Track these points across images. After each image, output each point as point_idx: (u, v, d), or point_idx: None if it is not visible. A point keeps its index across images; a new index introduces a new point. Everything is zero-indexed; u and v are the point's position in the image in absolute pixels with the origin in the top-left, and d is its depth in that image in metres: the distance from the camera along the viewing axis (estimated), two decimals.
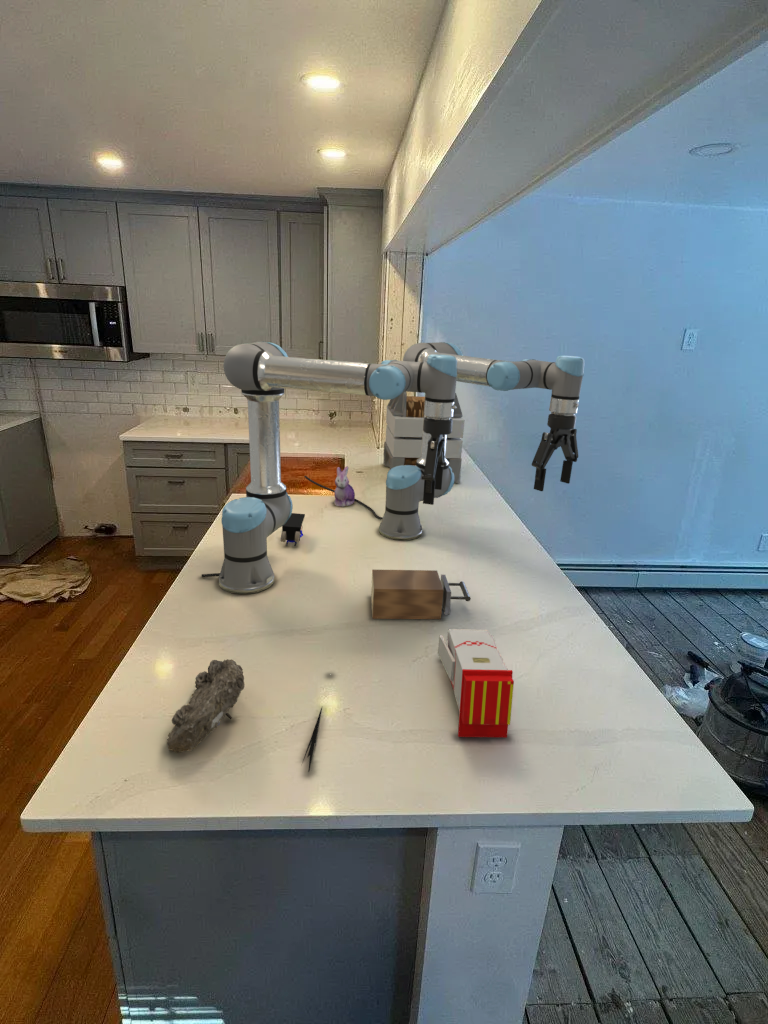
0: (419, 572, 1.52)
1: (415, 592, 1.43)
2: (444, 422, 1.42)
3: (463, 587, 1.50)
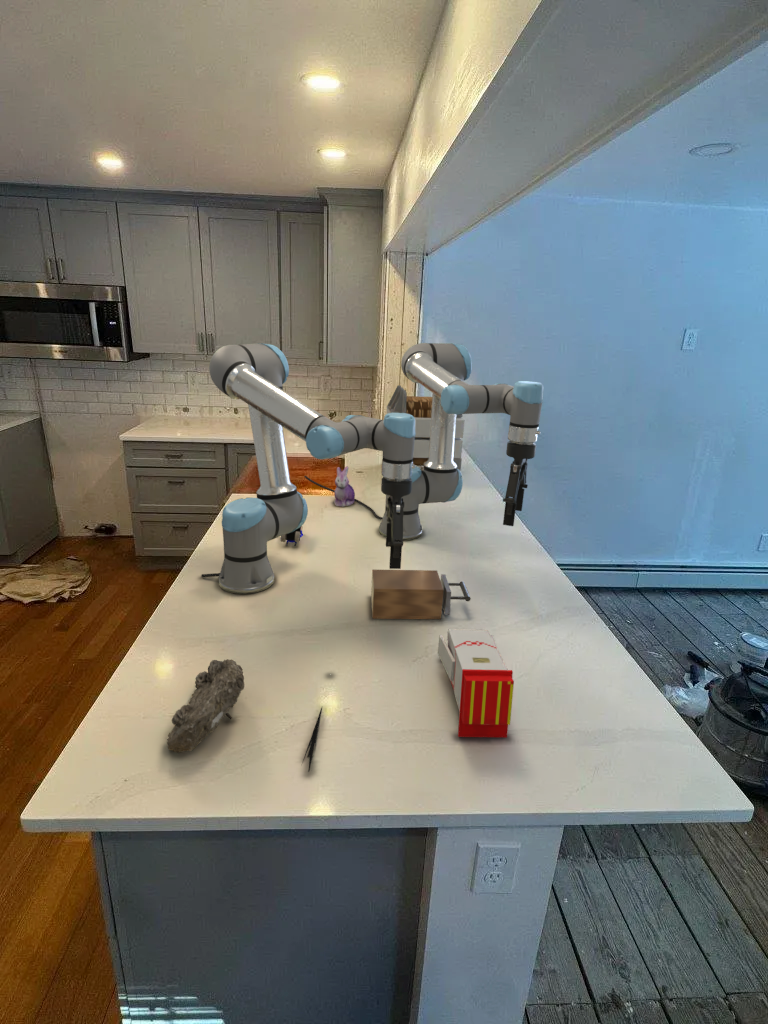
0: (419, 572, 1.52)
1: (415, 592, 1.43)
2: (406, 483, 1.36)
3: (463, 587, 1.50)
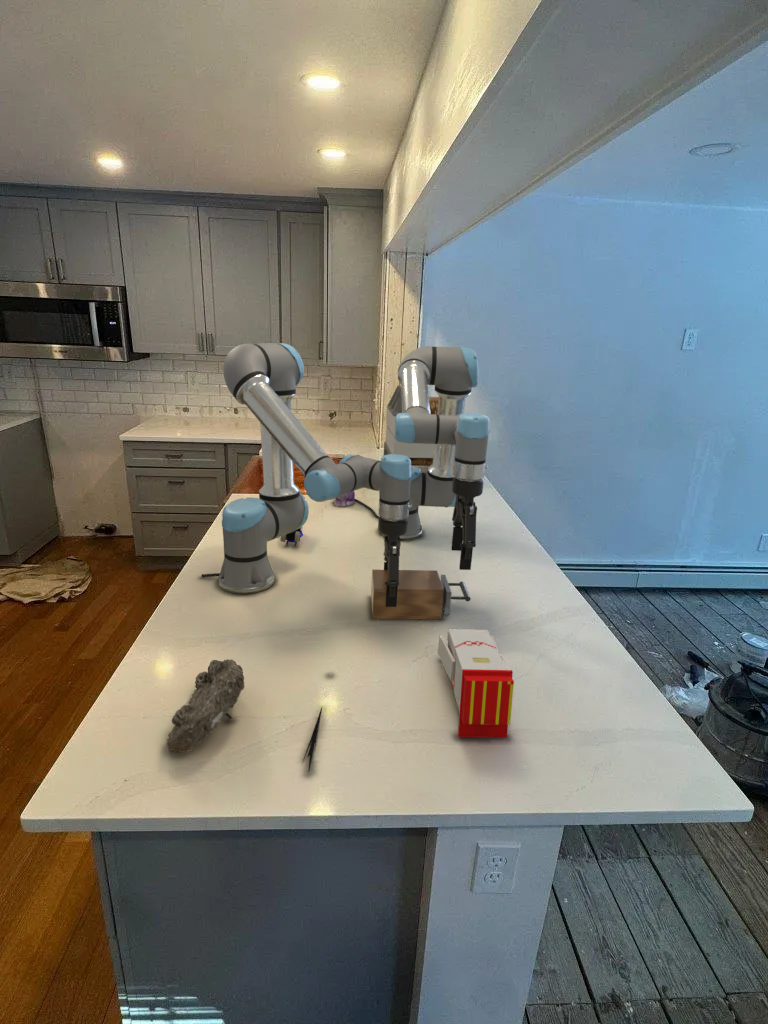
0: (419, 572, 1.52)
1: (415, 592, 1.43)
2: (402, 523, 1.39)
3: (463, 587, 1.50)
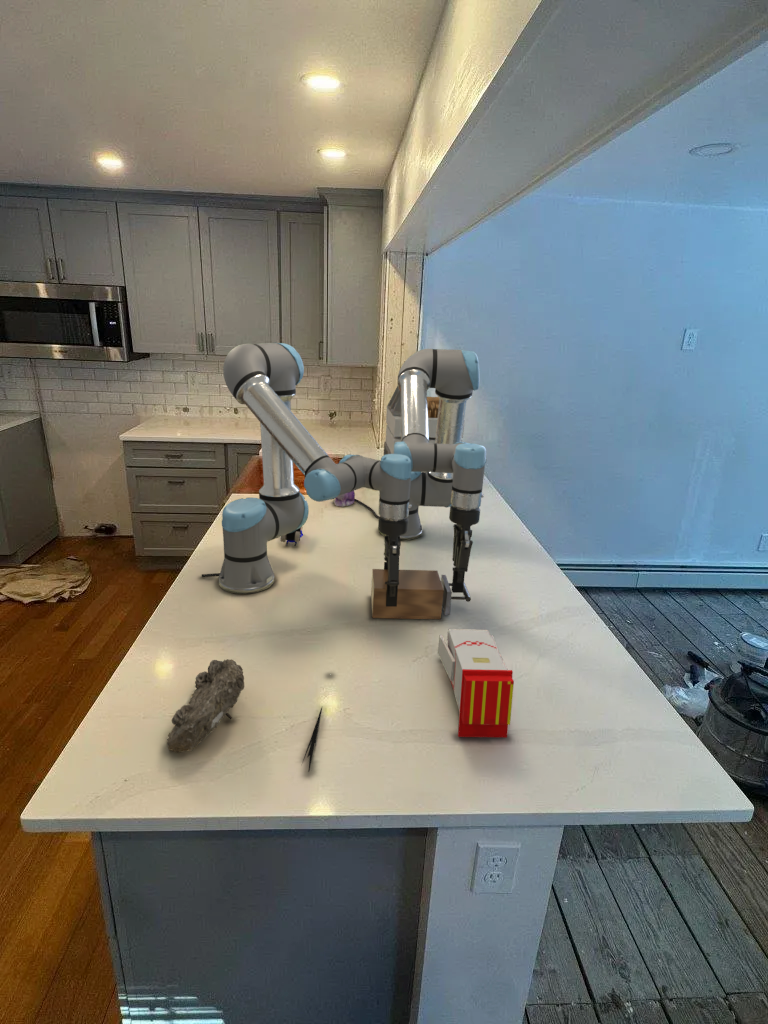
0: (419, 572, 1.52)
1: (415, 592, 1.43)
2: (402, 523, 1.39)
3: (463, 587, 1.50)
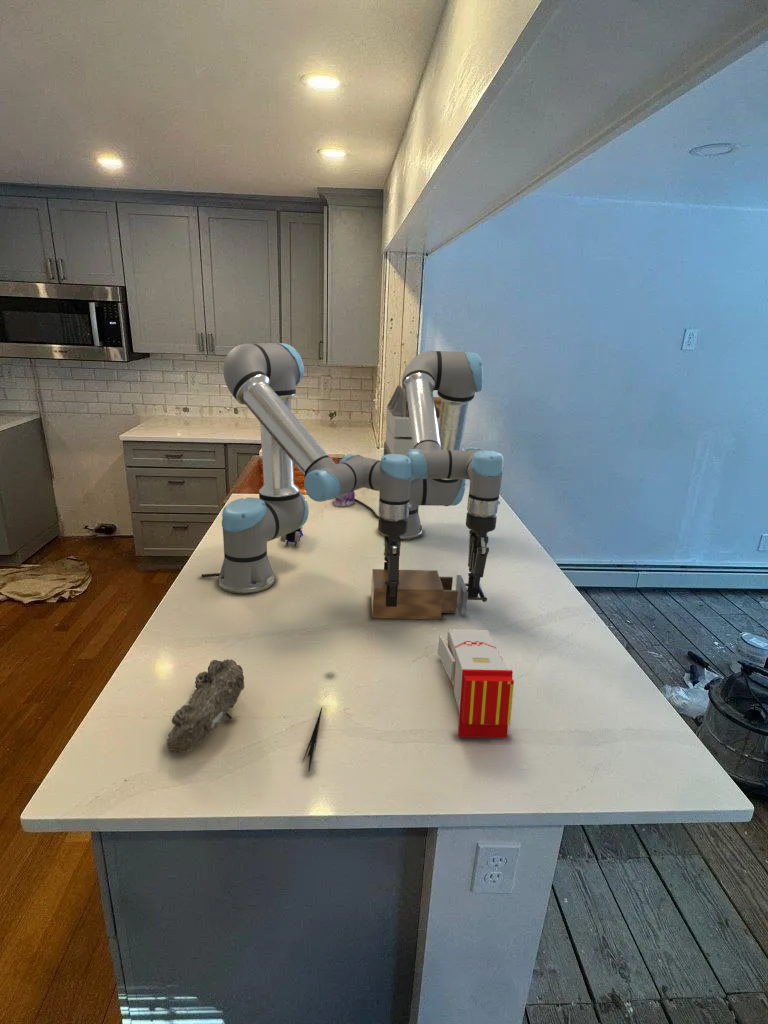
0: (419, 572, 1.52)
1: (415, 592, 1.43)
2: (402, 523, 1.39)
3: (479, 588, 1.51)
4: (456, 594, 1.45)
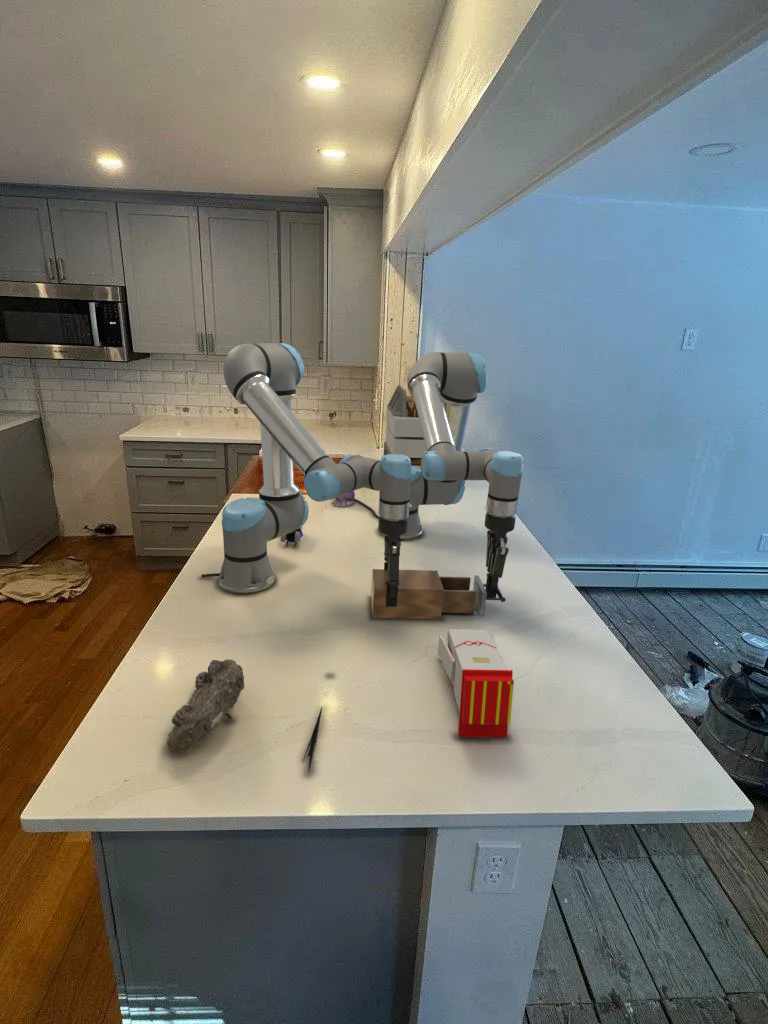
0: (419, 572, 1.52)
1: (415, 592, 1.43)
2: (402, 523, 1.39)
3: (497, 588, 1.51)
4: (475, 594, 1.46)
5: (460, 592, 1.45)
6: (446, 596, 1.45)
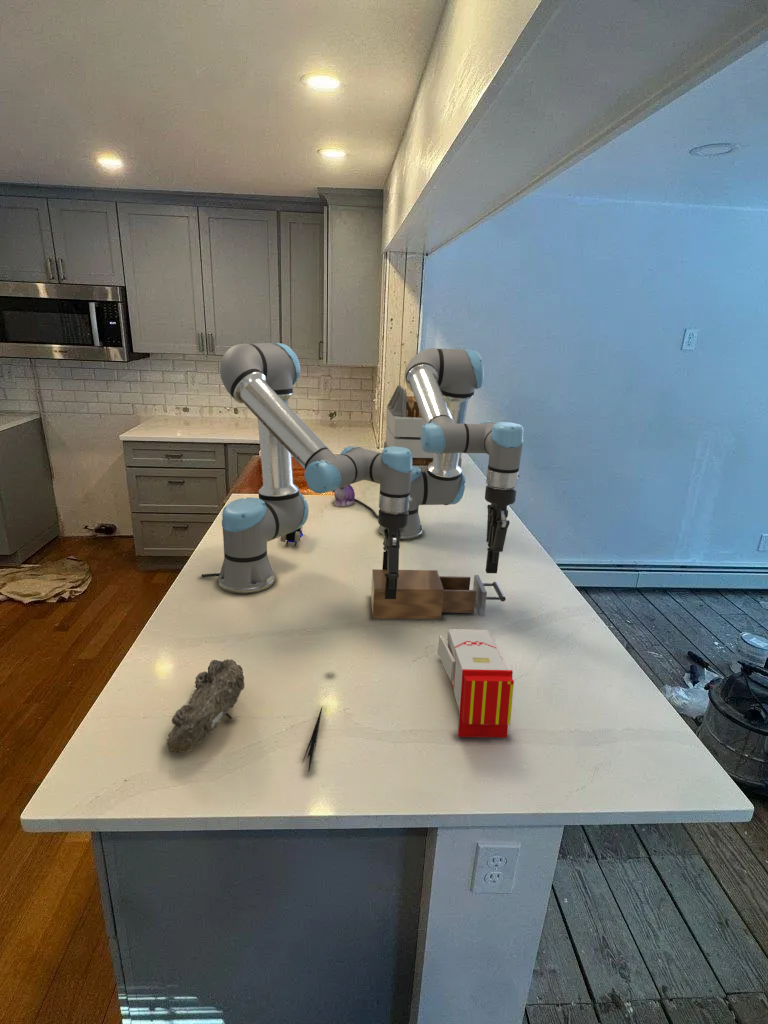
0: (419, 572, 1.52)
1: (415, 592, 1.43)
2: (402, 516, 1.38)
3: (497, 587, 1.51)
4: (475, 594, 1.46)
5: (460, 592, 1.45)
6: (446, 596, 1.45)
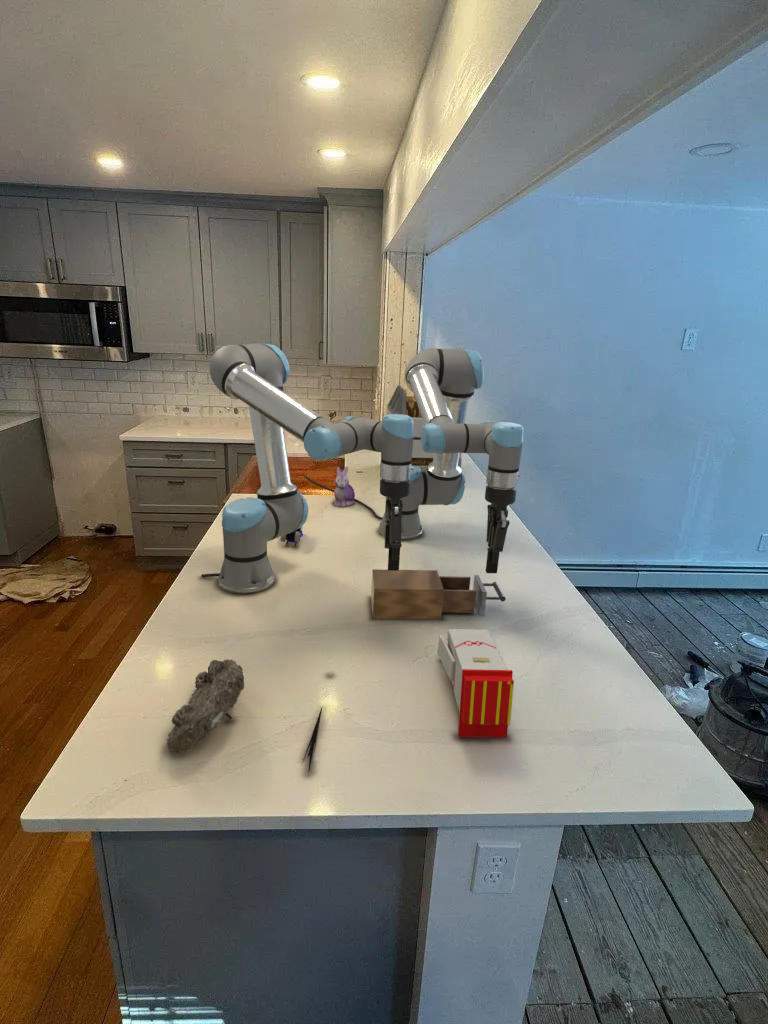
0: (419, 572, 1.52)
1: (415, 592, 1.43)
2: (404, 485, 1.36)
3: (497, 587, 1.51)
4: (475, 594, 1.46)
5: (460, 592, 1.45)
6: (446, 596, 1.45)
